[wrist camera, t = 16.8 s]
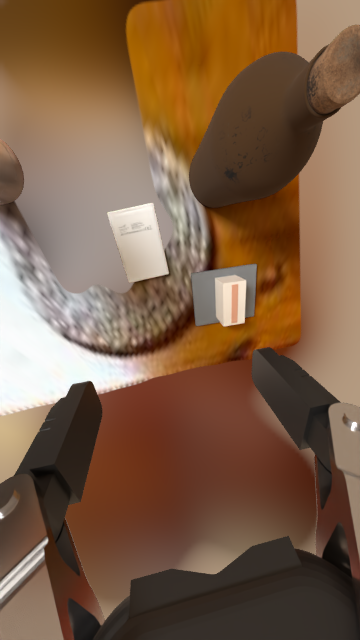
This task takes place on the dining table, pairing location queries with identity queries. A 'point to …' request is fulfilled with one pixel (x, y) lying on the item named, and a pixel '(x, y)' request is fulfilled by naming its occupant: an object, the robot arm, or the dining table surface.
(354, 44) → the olive oil
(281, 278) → the dining table surface
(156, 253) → the external hard drive
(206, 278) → the mat
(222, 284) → the block
